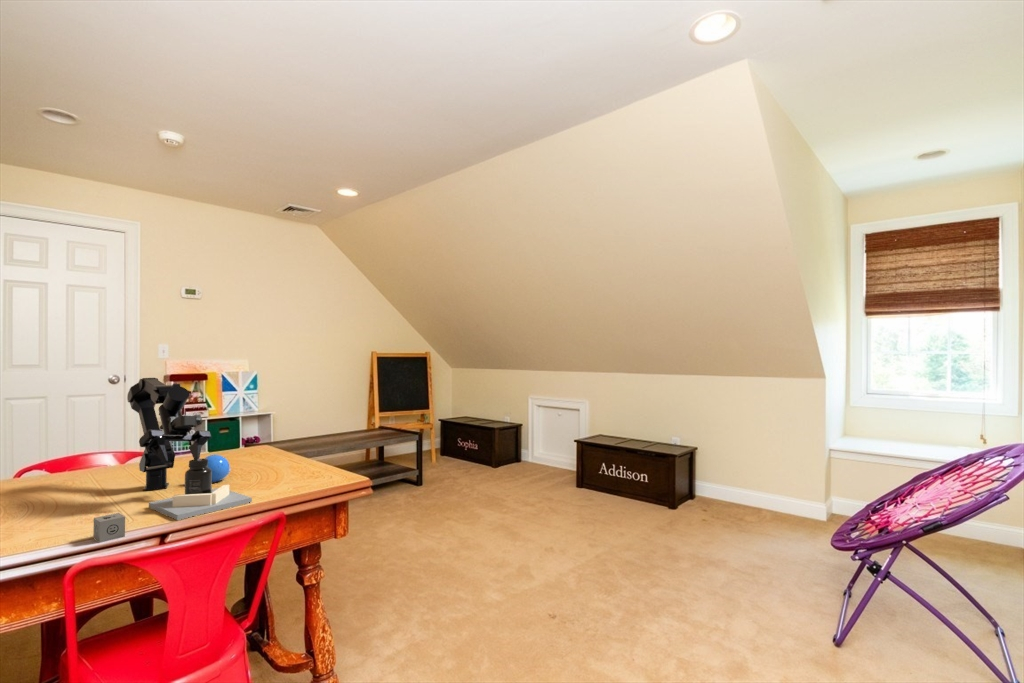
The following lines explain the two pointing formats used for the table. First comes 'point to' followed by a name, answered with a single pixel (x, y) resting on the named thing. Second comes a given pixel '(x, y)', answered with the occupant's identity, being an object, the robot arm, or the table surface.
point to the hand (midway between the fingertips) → (182, 462)
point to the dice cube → (109, 527)
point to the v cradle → (199, 503)
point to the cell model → (218, 467)
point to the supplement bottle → (198, 477)
